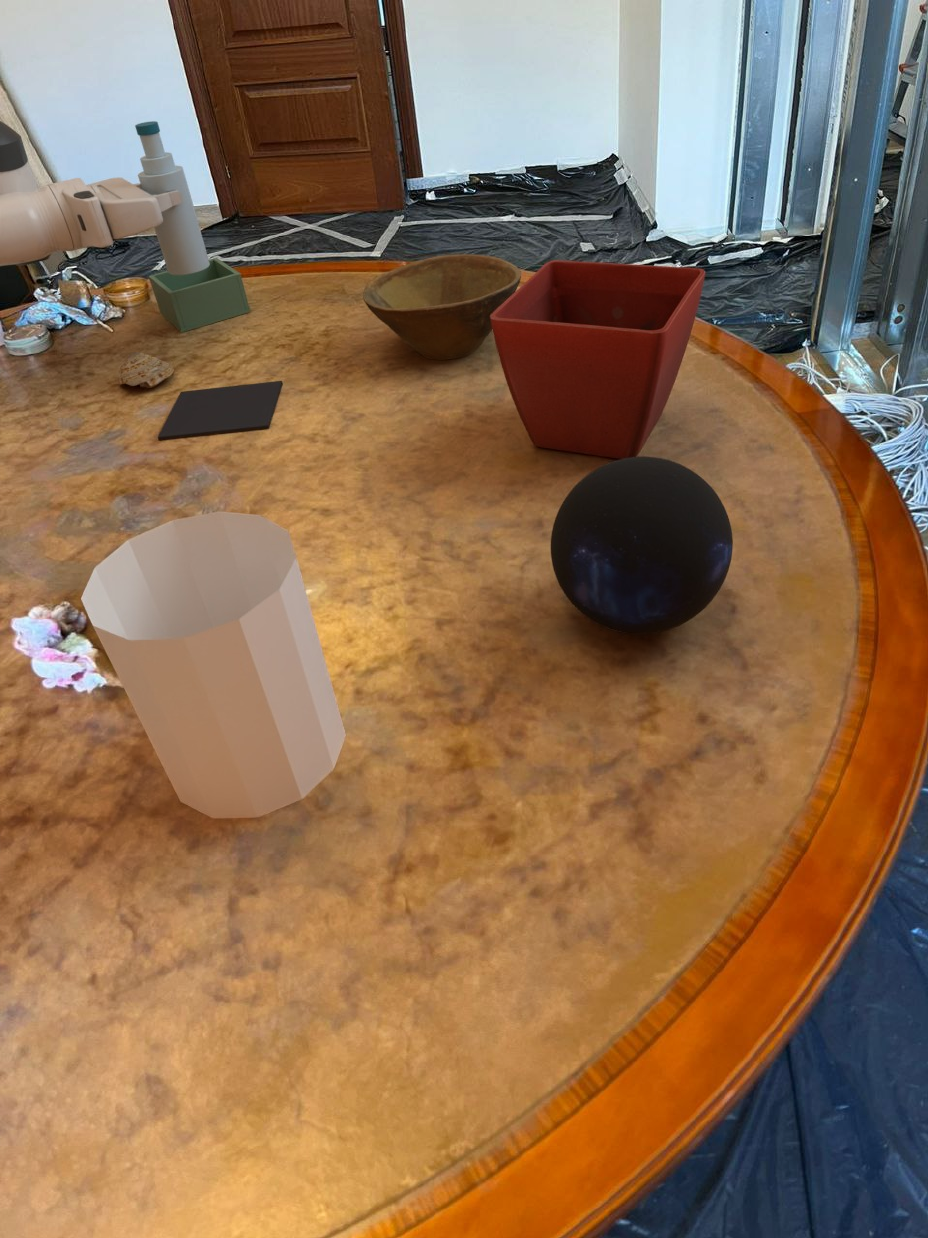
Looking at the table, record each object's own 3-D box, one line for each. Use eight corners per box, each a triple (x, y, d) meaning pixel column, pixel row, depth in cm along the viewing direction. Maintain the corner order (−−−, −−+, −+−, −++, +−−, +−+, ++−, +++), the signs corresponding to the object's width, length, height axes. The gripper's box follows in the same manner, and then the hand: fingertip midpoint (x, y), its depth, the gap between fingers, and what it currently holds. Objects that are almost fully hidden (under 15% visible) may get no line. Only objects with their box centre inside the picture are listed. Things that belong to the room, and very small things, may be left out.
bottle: (163, 276, 133) (117, 130, 120) (173, 263, 138) (129, 121, 125) (205, 272, 133) (163, 125, 120) (213, 258, 138) (173, 116, 125)
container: (187, 694, 75) (114, 524, 64) (349, 674, 75) (304, 500, 64) (153, 829, 64) (56, 653, 53) (342, 807, 64) (286, 625, 52)
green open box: (181, 332, 145) (168, 293, 141) (160, 313, 153) (148, 275, 149) (250, 311, 149) (240, 273, 145) (226, 294, 158) (216, 257, 154)
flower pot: (697, 403, 107) (708, 265, 96) (656, 480, 94) (664, 331, 84) (553, 388, 114) (549, 258, 104) (497, 458, 102) (485, 318, 91)
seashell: (131, 386, 124) (103, 353, 126) (137, 414, 128) (111, 381, 131) (182, 366, 127) (155, 334, 130) (186, 395, 132) (160, 363, 135)
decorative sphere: (548, 668, 73) (541, 522, 64) (558, 564, 84) (553, 426, 75) (731, 672, 71) (752, 521, 61) (716, 564, 82) (731, 421, 72)
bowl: (382, 324, 138) (372, 261, 132) (523, 312, 136) (520, 247, 130) (365, 383, 122) (352, 313, 115) (525, 371, 119) (521, 299, 113)
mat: (158, 440, 114) (157, 437, 114) (181, 394, 125) (180, 391, 125) (268, 428, 114) (268, 425, 113) (282, 383, 124) (281, 380, 124)
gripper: (73, 222, 133) (159, 202, 138) (105, 250, 119) (199, 226, 124) (57, 178, 129) (146, 158, 134) (88, 201, 115) (186, 178, 120)
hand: (172, 191), depth 129 cm, fingers closed on bottle, 6 cm apart
